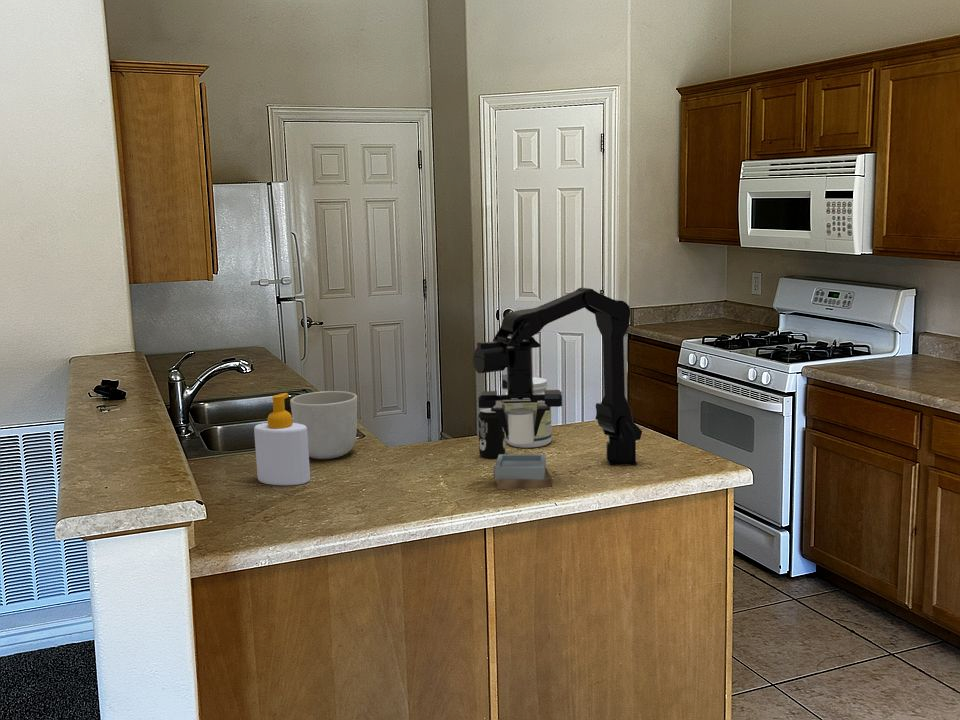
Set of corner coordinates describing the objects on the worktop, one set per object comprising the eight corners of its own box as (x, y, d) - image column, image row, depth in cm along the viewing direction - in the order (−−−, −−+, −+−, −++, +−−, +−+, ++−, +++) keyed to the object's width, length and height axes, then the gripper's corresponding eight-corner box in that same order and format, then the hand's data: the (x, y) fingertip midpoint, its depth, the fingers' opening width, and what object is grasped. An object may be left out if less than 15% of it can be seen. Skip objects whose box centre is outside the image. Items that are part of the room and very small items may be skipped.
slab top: (545, 465, 209) (545, 454, 208) (544, 479, 198) (543, 467, 198) (499, 465, 210) (498, 454, 210) (494, 479, 199) (494, 467, 199)
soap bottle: (317, 477, 211) (312, 393, 208) (299, 487, 203) (294, 401, 200) (269, 473, 215) (263, 391, 212) (249, 483, 208) (243, 398, 204)
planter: (368, 446, 237) (365, 391, 235) (348, 464, 221) (344, 405, 218) (308, 445, 240) (304, 390, 238) (283, 463, 224) (279, 404, 221)
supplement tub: (558, 439, 240) (557, 377, 237) (542, 450, 229) (541, 386, 226) (515, 435, 245) (514, 375, 242) (498, 446, 234) (496, 383, 231)
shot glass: (504, 437, 206) (504, 408, 205) (534, 436, 206) (533, 406, 205) (508, 445, 199) (507, 415, 198) (538, 443, 200) (538, 413, 199)
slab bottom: (544, 473, 211) (544, 463, 210) (551, 489, 199) (551, 478, 198) (493, 476, 210) (493, 466, 210) (498, 492, 198) (498, 481, 198)
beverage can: (502, 459, 222) (501, 412, 220) (477, 458, 223) (475, 412, 221) (507, 452, 228) (506, 406, 226) (482, 451, 229) (480, 406, 227)
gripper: (560, 361, 207) (561, 426, 210) (480, 363, 209) (482, 427, 211) (561, 370, 196) (562, 438, 199) (477, 371, 198) (479, 440, 200)
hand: (521, 435), depth 203 cm, fingers closed on shot glass, 6 cm apart
